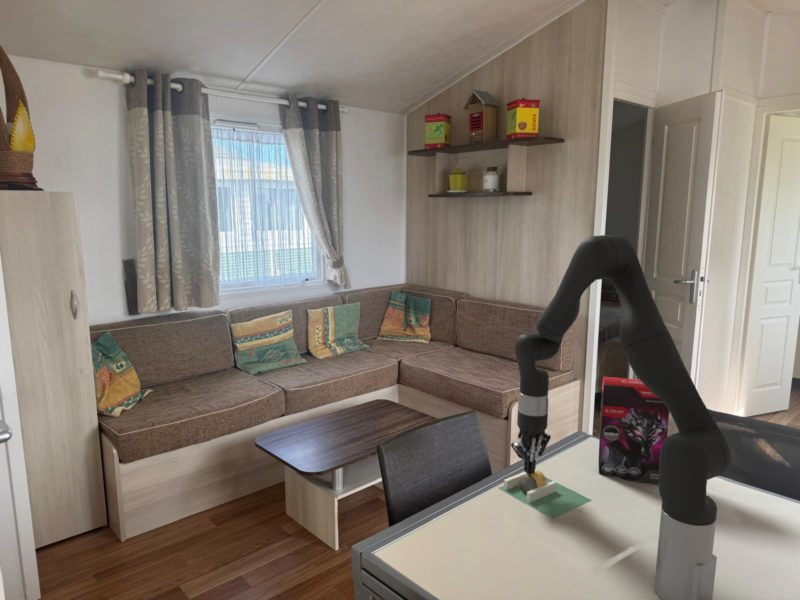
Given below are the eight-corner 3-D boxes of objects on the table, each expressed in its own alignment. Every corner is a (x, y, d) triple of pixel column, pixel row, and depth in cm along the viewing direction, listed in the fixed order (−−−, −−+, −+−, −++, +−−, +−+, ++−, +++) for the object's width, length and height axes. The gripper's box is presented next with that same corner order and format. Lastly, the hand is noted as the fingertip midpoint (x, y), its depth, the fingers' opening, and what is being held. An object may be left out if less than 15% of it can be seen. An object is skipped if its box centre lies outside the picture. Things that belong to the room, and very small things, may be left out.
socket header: (555, 491, 146) (556, 482, 146) (529, 502, 141) (529, 493, 140) (529, 478, 154) (530, 469, 153) (503, 488, 148) (504, 479, 147)
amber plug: (543, 493, 147) (548, 479, 145) (529, 498, 144) (535, 485, 142) (530, 480, 150) (535, 466, 148) (516, 485, 147) (522, 472, 145)
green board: (591, 502, 142) (591, 500, 142) (552, 521, 134) (552, 518, 134) (536, 475, 157) (536, 472, 157) (497, 490, 148) (498, 487, 148)
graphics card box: (597, 477, 156) (603, 382, 151) (596, 466, 163) (602, 375, 158) (664, 486, 151) (673, 389, 147) (660, 474, 158) (669, 381, 153)
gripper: (526, 419, 137) (522, 485, 140) (561, 408, 144) (557, 471, 147) (503, 410, 143) (501, 473, 146) (538, 400, 150) (535, 460, 153)
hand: (529, 472), depth 147 cm, fingers closed
